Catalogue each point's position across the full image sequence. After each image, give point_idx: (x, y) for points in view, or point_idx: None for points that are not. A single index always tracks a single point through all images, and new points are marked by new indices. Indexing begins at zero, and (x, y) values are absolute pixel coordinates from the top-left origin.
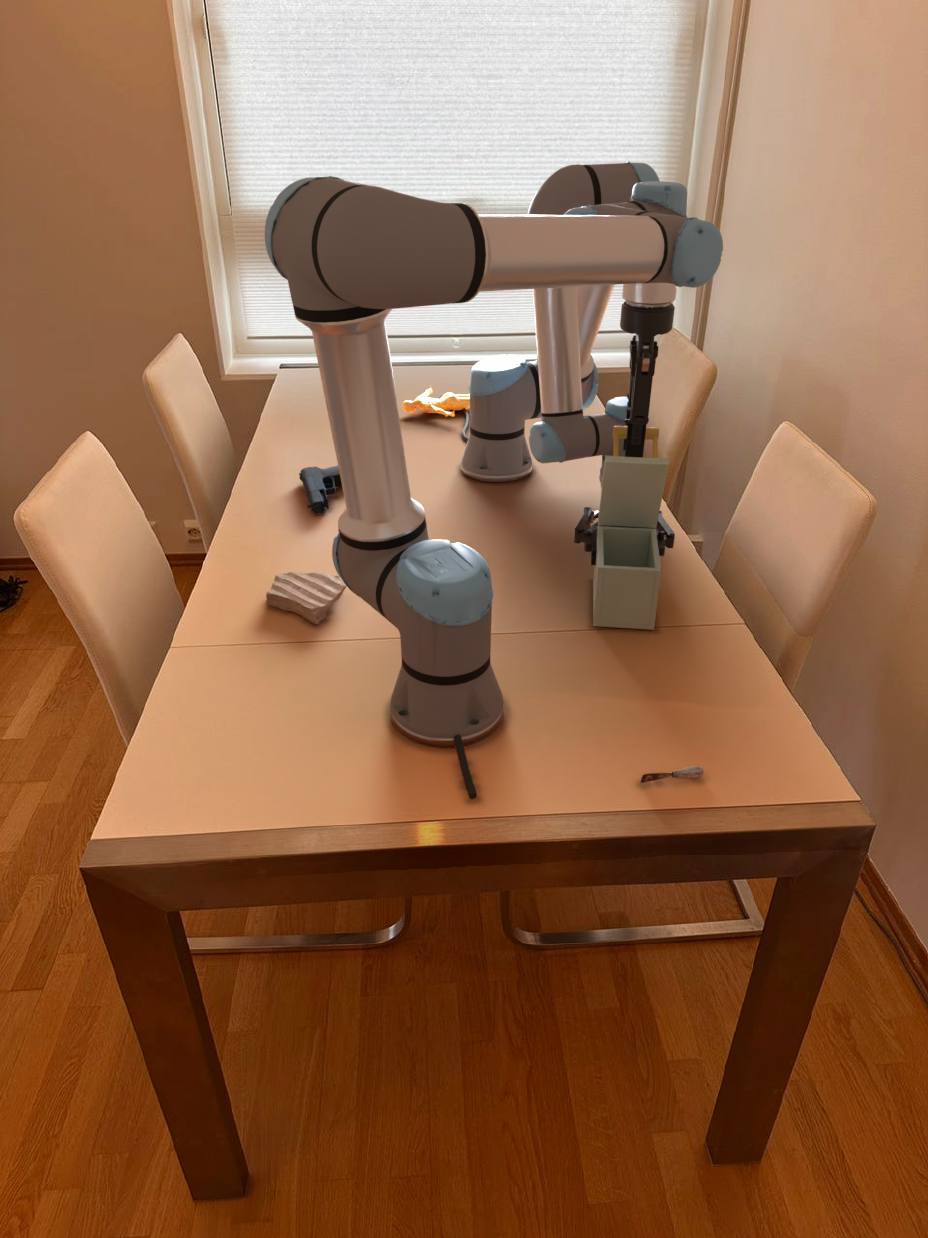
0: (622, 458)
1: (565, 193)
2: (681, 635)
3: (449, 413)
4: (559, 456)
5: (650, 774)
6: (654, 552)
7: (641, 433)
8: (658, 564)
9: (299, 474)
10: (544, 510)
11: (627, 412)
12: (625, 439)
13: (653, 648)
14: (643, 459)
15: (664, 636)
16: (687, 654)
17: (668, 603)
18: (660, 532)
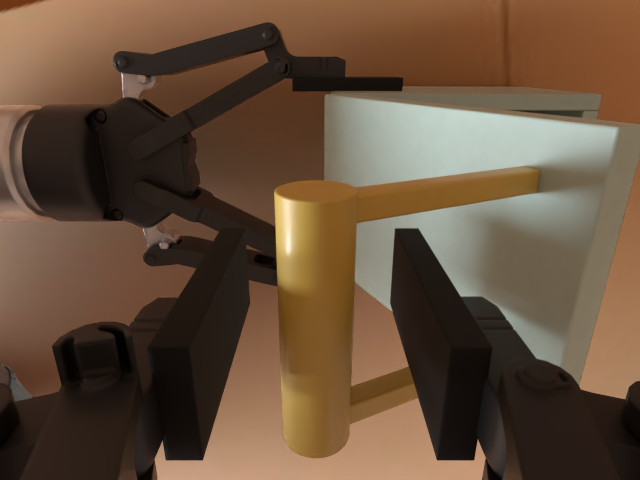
0: (572, 362)
1: None
2: (541, 26)
3: None
4: (22, 395)
5: None
6: (491, 106)
7: (520, 341)
8: (565, 100)
9: None
10: (28, 303)
11: (207, 444)
12: (241, 327)
13: (584, 90)
14: (595, 267)
15: (543, 64)
16: (613, 19)
17: (410, 45)
18: (289, 70)
